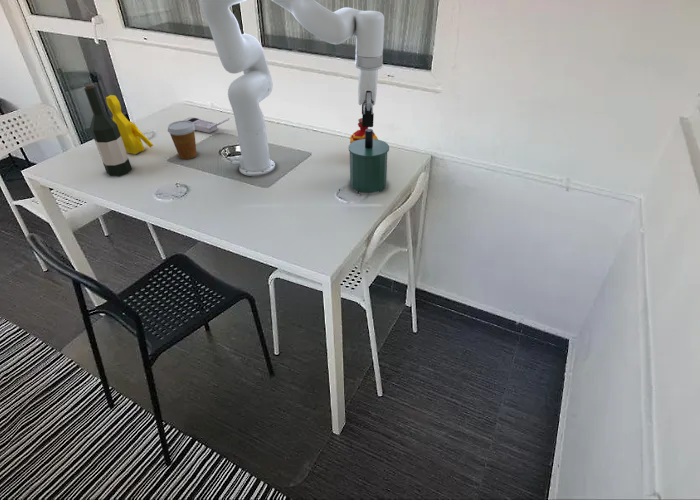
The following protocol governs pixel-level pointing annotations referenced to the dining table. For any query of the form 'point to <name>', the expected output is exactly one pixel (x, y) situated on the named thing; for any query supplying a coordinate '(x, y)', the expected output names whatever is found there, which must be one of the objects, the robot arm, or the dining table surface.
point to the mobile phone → (204, 124)
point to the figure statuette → (126, 128)
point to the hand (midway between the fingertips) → (367, 120)
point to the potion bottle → (360, 133)
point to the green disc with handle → (368, 146)
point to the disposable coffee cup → (183, 138)
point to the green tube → (368, 173)
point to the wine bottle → (107, 137)
